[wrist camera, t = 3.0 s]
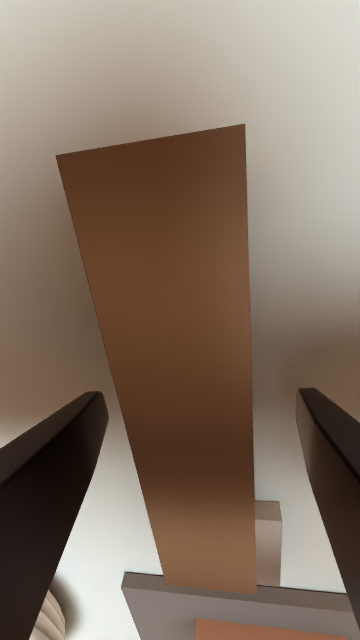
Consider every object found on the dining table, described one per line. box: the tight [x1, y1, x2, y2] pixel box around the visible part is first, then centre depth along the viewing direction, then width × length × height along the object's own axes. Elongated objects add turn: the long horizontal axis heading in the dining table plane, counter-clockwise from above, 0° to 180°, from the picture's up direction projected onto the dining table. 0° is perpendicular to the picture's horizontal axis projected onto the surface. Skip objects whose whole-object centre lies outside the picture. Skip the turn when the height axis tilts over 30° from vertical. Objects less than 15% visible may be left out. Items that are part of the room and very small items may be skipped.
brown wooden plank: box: [56, 124, 282, 595], centre depth 9 cm, size 16×5×3 cm, turn 7°
